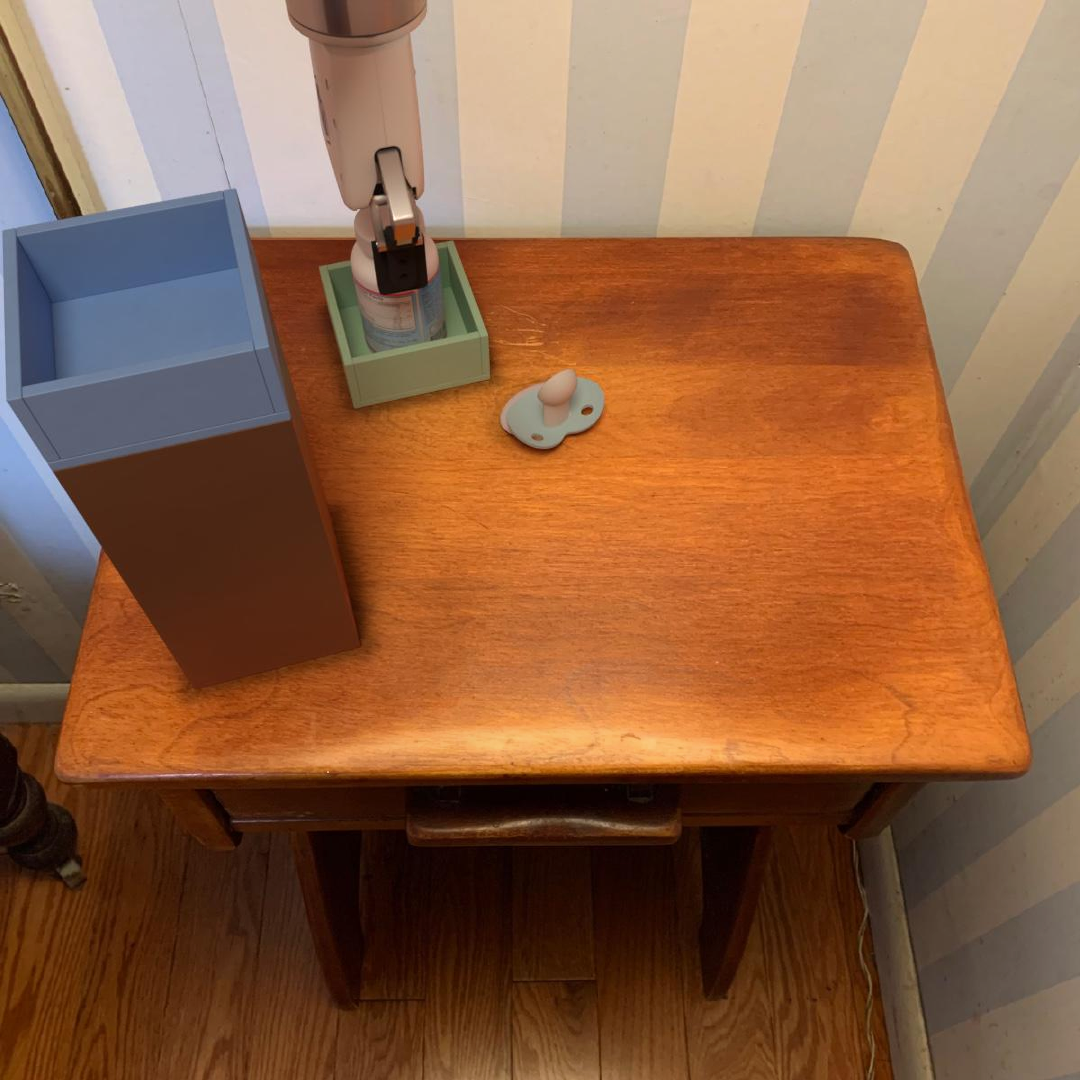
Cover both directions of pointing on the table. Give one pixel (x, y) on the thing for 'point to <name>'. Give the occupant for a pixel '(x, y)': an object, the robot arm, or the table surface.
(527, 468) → the table surface
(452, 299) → the green bin
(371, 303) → the pill bottle
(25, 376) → the blue bin
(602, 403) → the pacifier
